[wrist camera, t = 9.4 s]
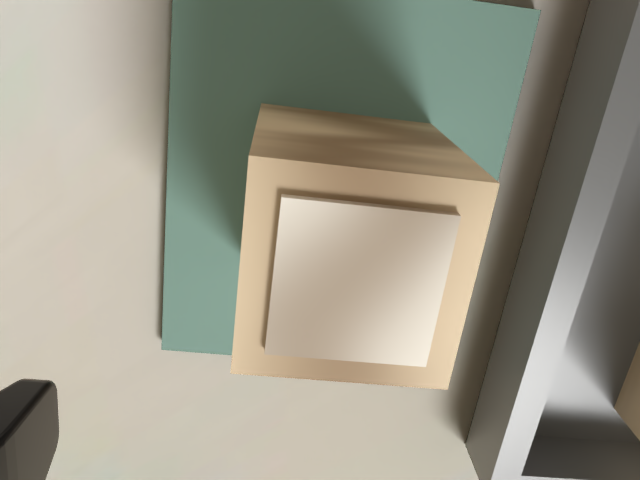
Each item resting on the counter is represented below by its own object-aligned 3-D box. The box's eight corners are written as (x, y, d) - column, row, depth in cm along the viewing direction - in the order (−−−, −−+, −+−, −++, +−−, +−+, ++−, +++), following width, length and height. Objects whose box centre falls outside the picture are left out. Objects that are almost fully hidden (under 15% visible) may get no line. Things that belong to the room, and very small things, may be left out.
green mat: (535, 9, 16) (541, 10, 16) (446, 365, 21) (449, 372, 21) (176, -42, 16) (173, -43, 15) (163, 343, 20) (161, 349, 20)
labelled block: (431, 123, 17) (503, 186, 11) (400, 275, 19) (449, 395, 13) (261, 103, 17) (248, 158, 11) (247, 261, 19) (229, 378, 13)
